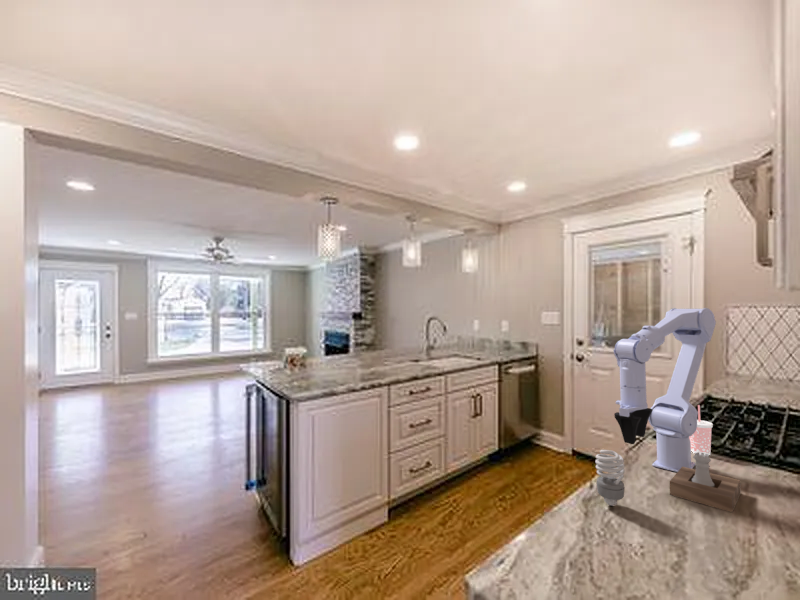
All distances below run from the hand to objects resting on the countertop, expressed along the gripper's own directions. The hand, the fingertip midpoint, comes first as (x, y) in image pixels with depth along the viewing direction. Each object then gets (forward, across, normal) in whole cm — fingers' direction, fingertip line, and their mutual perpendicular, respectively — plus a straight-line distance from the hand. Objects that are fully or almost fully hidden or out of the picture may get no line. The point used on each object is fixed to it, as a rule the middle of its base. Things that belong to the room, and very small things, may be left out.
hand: (634, 439), depth 99 cm
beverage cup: (+10, -31, +8) cm, 33 cm away
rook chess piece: (+9, -1, +14) cm, 16 cm away
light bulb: (+10, +20, +1) cm, 22 cm away
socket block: (+9, -1, +14) cm, 17 cm away
